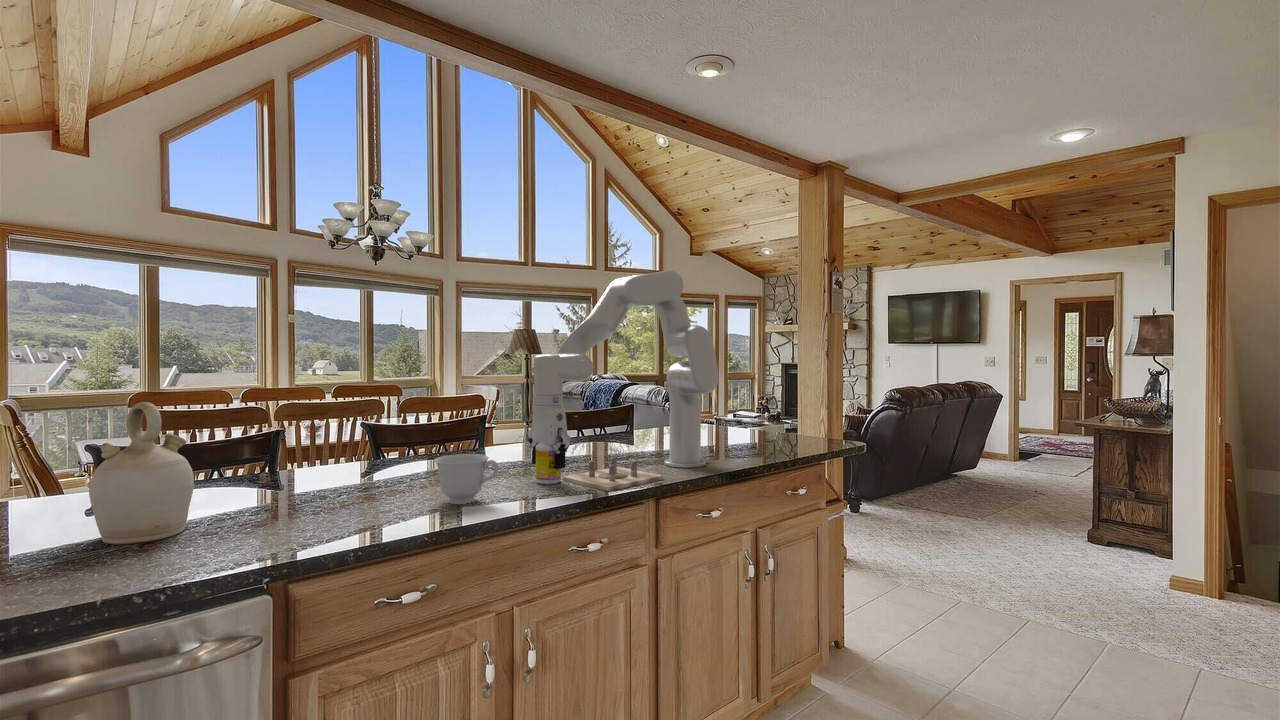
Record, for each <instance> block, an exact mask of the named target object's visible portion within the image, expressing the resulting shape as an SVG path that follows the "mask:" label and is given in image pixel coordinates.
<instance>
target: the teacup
mask: <svg viewBox="0 0 1280 720" xmlns="http://www.w3.org/2000/svg"><path fill="white" fill-rule="evenodd" d="M433 461H434V463H436V466H437V470H438V471H437V472H438V479H439V485H440V490H441V492H442V494H443V495H445V496H446V497H448V498H449V499H448V503H449V504H450V505H467V504H466V503H468V504H471V502H472V503H474V502H475V501H476V500H475V496H476V495H478V493H480V492H481V490H482V488H483V485H484V484H485V483H486V482H488V481H490V480H493V479H495V478H496V477H497V475H498V474H499V473H498V472H499V464H498V463H497V461H496V460H494V459H489V456H488V455H485V454H478V453H456V454H447V455H441V456H438V457H435V458H434V460H433ZM490 465H491V466H492V467H493V472H492V474H491V475H489V476H487V477H485V478H484V475H485V470H486V471H487V470H488V469H489V466H490Z"/></svg>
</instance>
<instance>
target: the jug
mask: <svg viewBox="0 0 1280 720" xmlns="http://www.w3.org/2000/svg"><path fill="white" fill-rule="evenodd" d="M143 416H145V418H146V419H145V420H146V429H145V433H144V432H143V427H142V420H143ZM125 422H126V423H125V425H126V433H127V435H128V437H129V439H130V440H131V442H130V444H129V445H128V446H127V447H126V448H124V449H122V450H121V448H120V446H118V445H113V444H111V443H109V442H105V443H103V444H101V445H100V450H101V455H100V457H101V458H102V459H105V460H104V461H102V462H101V463H100V464H99V466H97V467H96V469H95V471H94V472H93V474H92V477H91V479H90V483H89V486H88V487H89V488H88V495H89V500H90V505H91V510H92V513H93V516H94V520H95V523H96V526H97V530H98V531H99V534H100V537H101V541H102V542H103V543H104V544H106V545H133V544H141V543H143V544H144V543H149V542H155V541H158V540H161V539H162V540H164V539H166V538H167V539H168V538H170V537H173V536H175V535H178V534H180V533H182V532H183V531H185V528H186V523H187V521H188V516H189V510H190V504H191V501H192V497H193V492H194V487H195V486H194V485H195V476H194V472H193V468H192V467H191V464H190V463H189V461H188V460H187V459H186V457H185V456H183V455H181V454H180V453H179V452H178V450H179V449H180V448H182V447H183V446H185V445H186V444H187V440H186V439H185V438H184V437H181V436H179V435H176V434H172V433H166V434H164V441H163V444H160V445H158V444H156V443H155V441H156V439H157V438H158V437H159V436H160V433H161V430H162V424H163V423H162V415H161V413H160V410H159V409H158V408H157V406H156V405H155V404H153V403H151V402H148V401H141V402H139V403H135V404H134V405H133V406H131V408H130V410H129V411H128V413H127V416H126V420H125Z"/></svg>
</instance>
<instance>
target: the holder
mask: <svg viewBox="0 0 1280 720" xmlns="http://www.w3.org/2000/svg"><path fill="white" fill-rule="evenodd" d="M617 458H618V457H615V456H613V457H612V456H611V457H610V464H609V465H608V468H604V469H603V468H602V469H597V470H596V461H595V460H589V461H588V471H587V472H581V473H576V474H570V475H565V476H562V481H564V482H567V483H572V484H576V485H581V486H583V487H589V488H593V489H598V490H601V491H606V492H612V491H615V490H621V489H625V488H629V487H634V486H638V485H644V484H647V483H652V482H656V481H661V480H664V479H663V478H664V476H663V475H661V474H657V473H656V474H655V473H650V472H646V471H640V470H638V461H637V460H630V468H625V467H621V466H618V465H617Z"/></svg>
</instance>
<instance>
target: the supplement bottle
mask: <svg viewBox="0 0 1280 720" xmlns="http://www.w3.org/2000/svg"><path fill="white" fill-rule="evenodd" d="M540 439H543V438H542V437H540ZM558 447H560V445H558ZM555 453H556V451H555V449H554V447H553V445H547V444H544V443H543V442H541V443H538V444H537V445H536V464H535V482H536V483H537V484H541V485H554V484H558V483H560V482H561V479H562V468H561V469H555V468H554V454H555Z"/></svg>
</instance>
